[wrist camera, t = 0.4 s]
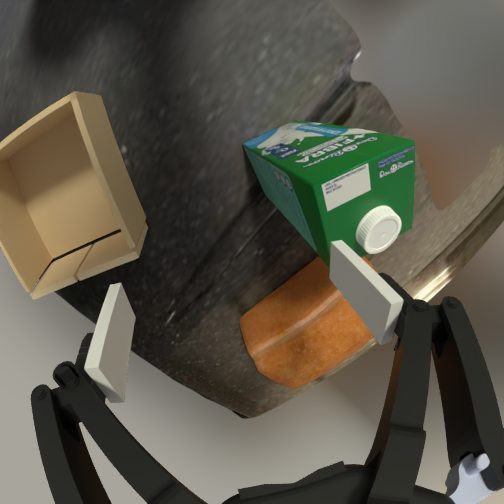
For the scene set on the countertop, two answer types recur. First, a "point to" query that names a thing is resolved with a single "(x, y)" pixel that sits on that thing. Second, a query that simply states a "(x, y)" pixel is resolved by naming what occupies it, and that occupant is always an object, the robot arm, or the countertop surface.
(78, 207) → the carton
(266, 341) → the bread
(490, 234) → the countertop surface
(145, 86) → the countertop surface
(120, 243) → the flap
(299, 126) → the milk carton
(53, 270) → the flap
